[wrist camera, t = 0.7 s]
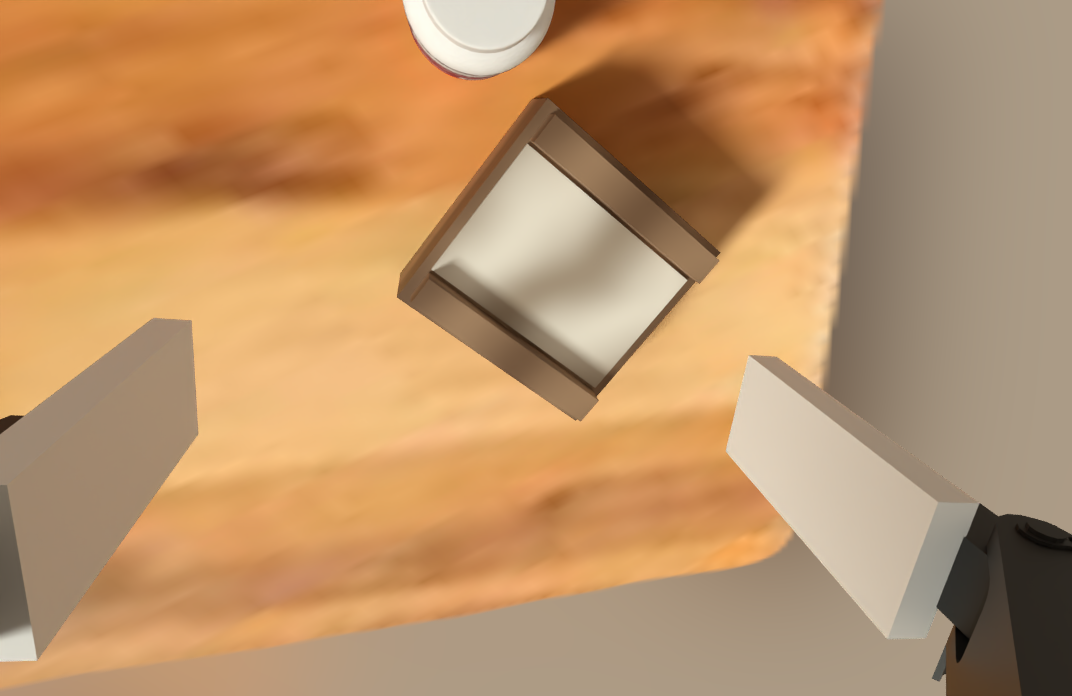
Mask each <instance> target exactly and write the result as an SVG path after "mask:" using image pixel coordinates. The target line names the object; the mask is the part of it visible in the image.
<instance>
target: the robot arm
mask: <svg viewBox="0 0 1072 696" xmlns="http://www.w3.org/2000/svg"><path fill="white" fill-rule="evenodd" d="M197 435H198V421H197V405H196V388H195V371H194V354H193V337H192V321H191V320H175V319H159V318H153V319H151V320H150V321H149V322H147V323H146V324H145V325H143V326H142V327H141V328H139V329H138V330H137V331H136V332H134V333H133V334H132V335H130V336H129V337H128V338H126V339H125V340H124V341H122V342H121V343H120V344H118V345H117V346H116V347H114V348H113V349H112V350H111V351H109V352H108V353H107V354H105V355H104V356H103V357H101V358H100V359H99V360H97V361H96V362H95V363H93V364H92V365H91V366H89V367H88V368H87V369H86V370H84V371H83V372H82V373H80V374H79V375H78V376H76V377H75V378H74V379H72V380H71V381H70V382H68V383H67V384H66V385H64V386H63V387H62V388H61V389H59V390H58V391H57V392H55V393H54V394H53V395H51V396H50V397H49V398H47V399H46V400H45V401H43V402H42V403H41V404H39V405H38V406H37V407H35V408H34V409H33V410H32V411H30V412H29V413H28V414H26V415H25V416H14V415H10V416H8V417H5V418H3V419H0V661H37V660H38V659H39V657H40V656H41V655H42V653H43V652H44V650H45V649H46V648H47V646H48V645H49V643H50V642H51V640H52V639H53V638H54V636H55V635H56V633H57V632H58V631H59V629H60V628H61V626H62V625H63V624H64V622H65V621H66V619H67V618H68V617H69V615H70V614H71V612H72V611H73V610H74V608H75V607H76V605H77V604H78V602H79V601H80V600H81V598H82V597H83V595H84V594H85V593H86V591H87V590H88V588H89V587H90V586H91V584H92V583H93V581H94V580H95V579H96V577H97V576H98V574H99V573H100V572H101V570H102V569H103V567H104V566H105V565H106V563H107V562H108V560H109V559H110V557H111V556H112V555H113V553H114V552H115V550H116V549H117V548H118V546H119V545H120V543H121V542H122V541H123V539H124V538H125V536H126V535H127V534H128V532H129V531H130V529H131V528H132V527H133V525H134V524H135V522H136V521H137V519H138V518H139V517H140V515H141V514H142V512H143V511H144V510H145V508H146V507H147V505H148V504H149V503H150V501H151V500H152V498H153V497H154V496H155V494H156V493H157V491H158V490H159V489H160V487H161V486H162V484H163V483H164V482H165V480H166V479H167V477H168V476H169V474H170V473H171V472H172V470H173V469H174V467H175V466H176V465H177V463H178V462H179V460H180V459H181V458H182V456H183V455H184V453H185V452H186V451H187V449H188V448H189V446H190V445H191V444H192V442H193V441H194V439H195V438H196V436H197ZM726 452H727V453H728V455H729V456H730V457H731V458H732V459H733V460H734V461H735V463H736V464H737V465H738V466H739V467H740V468H741V470H742V471H743V472H744V473H745V474H746V475H747V477H748V478H749V479H750V480H751V481H752V482H753V484H754V485H755V486H756V487H757V488H758V489H759V491H760V492H761V493H762V494H763V495H764V496H765V498H766V499H767V500H768V501H769V502H770V503H771V505H772V506H773V507H774V508H775V509H776V510H777V512H778V513H779V514H780V515H781V516H782V517H783V518H784V520H785V521H786V522H787V523H788V524H789V525H790V527H791V528H792V529H793V530H794V531H795V532H796V534H797V535H798V536H799V537H800V538H801V539H802V540H803V542H804V543H805V544H806V545H807V546H808V548H809V549H810V550H811V551H812V552H813V553H814V555H816V557H817V558H818V559H819V560H820V562H821V563H822V564H823V565H824V566H825V567H826V568H827V570H828V571H829V572H830V573H831V574H832V575H833V577H834V578H835V579H836V580H837V581H838V582H839V584H840V585H841V586H842V587H843V588H844V589H845V591H846V592H847V593H848V594H849V595H850V596H851V598H853V600H854V601H855V602H856V603H857V605H858V606H859V607H860V608H861V609H862V610H863V612H864V613H865V614H866V615H867V616H868V617H869V619H870V620H871V621H872V622H873V623H874V624H875V626H876V627H877V628H878V629H879V630H880V631H881V632H882V634H883V635H884V636H885V637H886V638H887V639H917V638H926V637H927V634H928V631H929V629H930V627H931V624H932V622H933V619H934V617H935V614H936V611H937V609H939V610H940V611H941V612H942V613H943V614H944V615H945V616H946V617H947V618H948V619H949V620H950V621H951V622H952V623H953V624H954V626H953V628H952V631H951V633H950V636H949V638H948V641H947V643H946V646H945V648H944V650H943V653H942V655H941V658H940V660H939V663H938V665H937V667H936V670H935V672H934V675H933V677H932V679H934V680H937V681H940V679H941V677H942V675H944V674H946V696H1072V535H1071V534H1069V533H1068V532H1066V531H1064V530H1062V529H1060V528H1058V527H1057V526H1055V525H1052V524H1050V523H1048V522H1045V521H1041V520H1038V519H1034V518H1030V517H1026V516H1022V515H1013V514H1006V515H1002V516H999V517H998V516H997V515H995V514H994V513H993V512H991V511H990V510H988V509H987V508H986V507H984V506H983V505H982V504H980V503H979V502H977V501H976V500H975V499H973V498H972V497H970V496H969V495H967V494H966V493H965V492H963V491H962V490H961V489H959V488H958V487H957V486H955V485H954V484H952V483H951V482H950V481H948V480H947V479H945V478H944V477H943V476H941V475H940V474H938V473H937V472H936V471H934V470H933V469H932V468H930V467H929V466H927V465H926V464H925V463H923V462H922V461H920V460H919V459H918V458H916V457H915V456H913V455H912V454H911V453H909V452H908V451H907V450H905V449H904V448H902V447H901V446H900V445H898V444H897V443H895V442H894V441H893V440H891V439H890V438H888V437H887V436H886V435H884V434H883V433H882V432H880V431H879V430H877V429H876V428H875V427H873V426H872V425H870V424H869V423H868V422H866V421H865V420H863V419H862V418H861V417H859V416H858V415H857V414H855V413H853V412H852V411H851V410H850V409H848V408H847V407H845V406H844V405H843V404H841V403H840V402H838V401H837V400H836V399H834V398H833V397H832V396H830V395H829V394H827V393H826V392H825V391H823V390H822V389H820V388H819V387H818V386H816V385H815V384H813V383H812V382H811V381H809V380H808V379H807V378H805V377H804V376H802V375H801V374H800V373H798V372H797V371H795V370H794V369H793V368H791V367H790V366H788V365H787V364H786V363H784V362H783V361H782V360H780V359H779V358H777V357H771V356H755V355H749V356H748V361H747V365H746V369H745V373H744V377H743V381H742V386H741V390H740V394H739V398H738V402H737V406H736V411H735V415H734V419H733V423H732V427H731V431H730V435H729V440H728V444H727V448H726Z"/></svg>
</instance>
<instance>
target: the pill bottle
mask: <svg viewBox="0 0 1072 696" xmlns="http://www.w3.org/2000/svg"><path fill="white" fill-rule="evenodd" d="M403 5H404V9H405V13H406V16H407V20H408V23H409V26H410V29H411V33H412V35H413V38H414V40H415V42H416V44H417V46H418V48H419V49H420V51H421V52H422V54H423V55H424V56H425V57H426V58H427V59H428V60H429V61H430V62H431V63H432V64H433V65H434V66H435V67H436V68H438V69H439V70H441V71H442V72H444V73H446V74H448V75H450V76H452V77H455V78H458V79H463V80H483V79H487V78H490V77H493V76H496V75H498V74H500V73H503V72H506V71H508V70H510V69H512V68H514V67H516V66H517V65H519V64H520V63H522V62H523V61H524V60H526V59H527V58H528V57H529V56H530V55H531V54H532V53H533V52H534V51H535V50H536V49H537V47H538V46H539V45H540V43H541V42H542V40H543V38H544V36H545V35H546V33H547V30H548V28H549V26H550V23H551V20H552V16H553V12H554V6H555V0H403Z"/></svg>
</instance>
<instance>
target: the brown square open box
mask: <svg viewBox="0 0 1072 696" xmlns="http://www.w3.org/2000/svg"><path fill="white" fill-rule="evenodd" d="M719 254H720V252H719V251H718V250H717V249H716V248H715V247H714V246H712V245H711V244H710V243H709V242H708V241H707V240H706V239H705V238H703V237H702V236H701V235H700V234H699V233H698V232H697V231H696V230H695V229H693V228H692V227H691V226H690V225H689V224H688V223H687V222H686V221H685V220H683V219H682V218H681V217H680V216H679V215H678V214H677V213H676V212H674V211H673V210H672V209H671V208H670V207H669V206H668V205H667V204H666V203H664V202H663V201H662V200H661V199H660V198H659V197H658V196H657V195H656V194H654V193H653V192H652V191H651V190H650V189H649V188H648V187H647V186H645V185H644V184H643V183H642V182H641V181H640V180H639V179H638V178H637V177H635V176H634V175H633V174H632V173H631V172H630V171H629V170H628V169H627V168H625V167H624V166H623V165H622V164H621V163H620V162H619V161H618V160H616V159H615V158H614V157H613V156H612V155H611V154H610V153H609V152H608V151H606V150H605V149H604V148H603V147H602V146H601V145H600V144H599V143H598V142H596V141H595V140H594V139H593V138H592V137H591V136H590V135H589V134H588V133H586V132H585V131H584V130H583V129H582V128H581V127H580V126H579V125H577V124H576V123H575V122H574V121H573V120H572V119H571V118H570V117H569V116H567V115H566V114H565V113H564V112H563V111H562V110H561V109H560V108H559V107H557V106H556V105H555V104H554V103H553V102H552V101H551V100H550V99H548V98H542V99H532V100H531V101H530V102H529V104H528V105H527V106H526V108H525V109H524V110H523V112H522V113H521V114H520V116H519V117H518V118H517V120H516V121H515V122H514V124H513V125H512V126H511V128H510V129H509V130H508V131H507V133H506V134H505V135H504V137H503V138H502V139H501V141H500V142H499V143H498V145H497V146H496V147H495V149H494V150H493V151H492V153H491V154H490V155H489V157H488V158H487V159H486V161H485V162H484V163H483V165H482V166H481V167H480V169H479V170H478V171H477V173H476V174H475V175H474V177H473V178H472V179H471V181H470V182H469V183H468V185H467V186H466V187H465V188H464V190H463V191H462V192H461V194H460V195H459V196H458V198H457V199H456V200H455V202H454V203H453V204H452V206H451V207H450V208H449V210H448V211H447V212H446V214H445V215H444V216H443V218H442V219H441V220H440V222H439V223H438V224H437V226H436V227H435V228H434V230H433V231H432V232H431V234H430V235H429V236H428V238H427V239H426V240H425V241H424V243H423V244H422V245H421V247H420V248H419V249H418V251H417V252H416V253H415V255H414V256H413V257H412V259H411V260H410V261H409V263H408V264H407V265H406V267H405V268H404V269H403V271H402V272H401V273H400V280H399V287H398V293H397V298H399V299H400V300H402V301H403V302H405V303H406V304H407V305H409V306H410V307H412V308H413V309H415V310H416V311H418V312H419V313H421V314H422V315H423V316H425V317H426V318H428V319H429V320H431V321H432V322H434V323H435V324H436V325H438V326H439V327H441V328H442V329H444V330H445V331H447V332H448V333H449V334H451V335H452V336H454V337H455V338H457V339H458V340H460V341H461V342H463V343H464V344H465V345H467V346H468V347H470V348H471V349H473V350H474V351H476V352H477V353H478V354H480V355H481V356H483V357H484V358H486V359H487V360H489V361H490V362H491V363H493V364H494V365H496V366H497V367H499V368H500V369H502V370H503V371H504V372H506V373H507V374H509V375H510V376H512V377H513V378H515V379H516V380H518V381H519V382H520V383H522V384H523V385H525V386H526V387H528V388H529V389H531V390H532V391H533V392H535V393H536V394H538V395H539V396H541V397H542V398H544V399H545V400H546V401H548V402H549V403H551V404H552V405H554V406H555V407H557V408H558V409H560V410H561V411H562V412H564V413H565V414H567V415H568V416H570V417H571V418H573V419H574V420H575V421H576V420H577V419H578V420H579V421H582V419H583V418H584V417H585V416H586V415H587V414H588V412H589V411H590V410H591V409H592V408H593V407H594V405H595V404H596V403H597V402H598V401H599V400H598V399H597V395H598V394H599V393H600V392H601V391H602V390H603V388H604V387H605V386H606V385H607V384H608V383H609V381H610V380H611V379H612V378H613V377H614V376H615V374H616V373H617V372H618V371H619V370H620V369H621V367H622V366H623V365H624V364H625V363H626V362H627V360H628V359H629V358H630V357H631V356H632V355H633V354H634V352H635V351H636V350H637V349H638V348H639V347H640V345H641V344H642V343H643V342H644V341H645V340H646V338H647V337H648V336H649V335H650V334H651V333H652V331H653V330H654V329H655V328H656V327H657V326H658V324H659V323H660V322H661V321H662V320H663V319H664V317H665V316H666V315H667V314H668V313H669V312H670V310H671V309H672V308H673V307H674V306H675V305H676V304H677V302H678V301H679V300H680V299H681V298H682V297H683V295H684V294H685V293H686V292H687V291H688V290H689V288H690V287H691V286H692V285H693V284H694V283H695V281H696V282H698V283H699V284H700V283H701V281H702V280H703V279H704V278H705V277H706V276H707V274H708V273H709V272H710V271H711V270H712V269H713V268H714V266H715V265H716V264H717V263H718V262H719V260H718V259H717V258H716V257H717V256H718V255H719Z"/></svg>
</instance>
